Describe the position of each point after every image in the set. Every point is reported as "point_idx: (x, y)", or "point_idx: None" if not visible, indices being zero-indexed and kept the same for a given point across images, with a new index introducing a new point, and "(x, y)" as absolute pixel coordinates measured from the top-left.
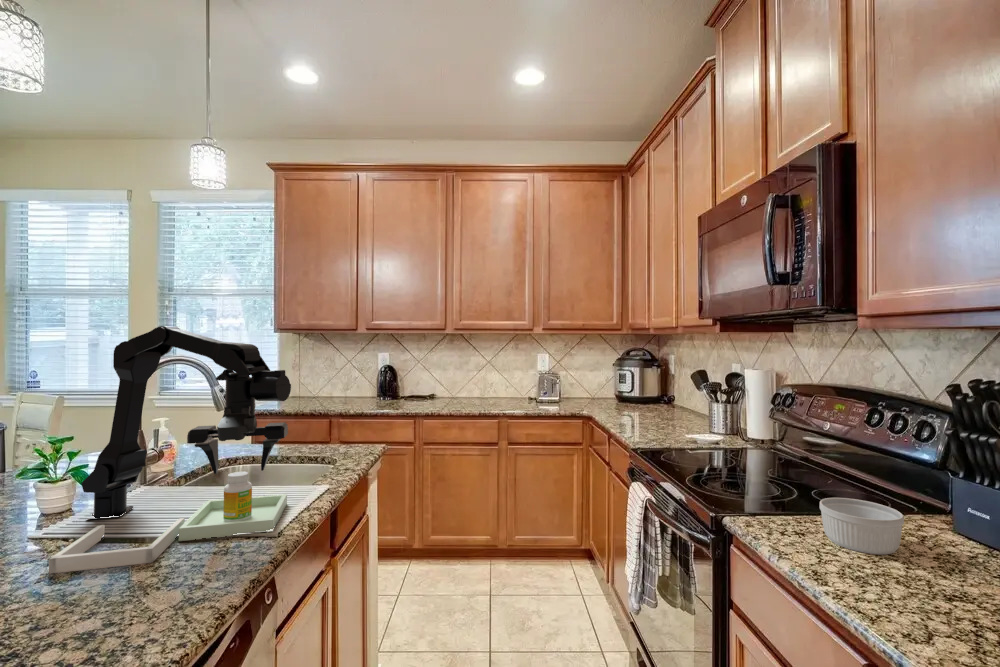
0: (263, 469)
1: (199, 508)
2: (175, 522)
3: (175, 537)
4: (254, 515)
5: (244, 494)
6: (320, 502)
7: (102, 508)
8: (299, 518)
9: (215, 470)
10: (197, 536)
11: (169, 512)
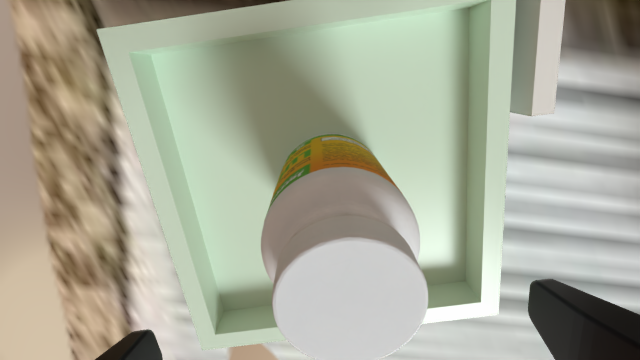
0: (125, 337)
1: (502, 227)
2: (555, 57)
3: None
4: None
5: (282, 187)
6: (98, 326)
7: None
8: (96, 177)
9: (562, 294)
10: None
11: (602, 290)
